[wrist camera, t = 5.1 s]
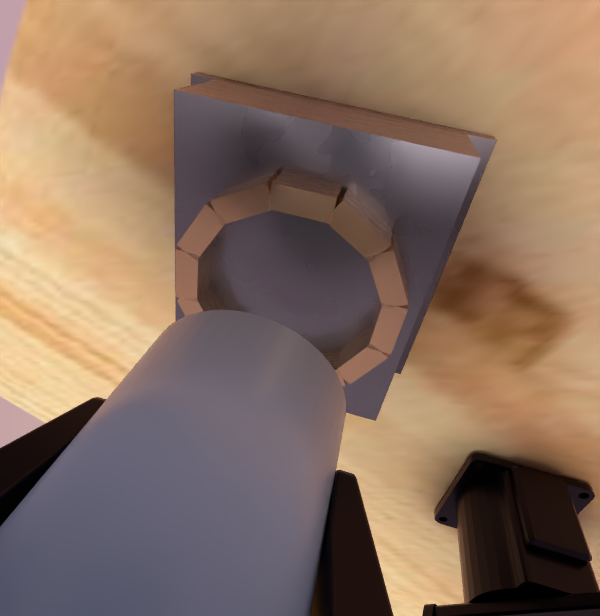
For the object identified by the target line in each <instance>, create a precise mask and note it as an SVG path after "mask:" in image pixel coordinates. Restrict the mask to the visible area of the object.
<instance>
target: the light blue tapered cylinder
mask: <svg viewBox="0 0 600 616" xmlns="http://www.w3.org/2000/svg"><path fill="white" fill-rule="evenodd" d="M345 415H346V401H345V394H344V391H343V387H342V384H341V382H340V380H339V378H338V376H337V374H336V372H335V370H334V369H333V367H332V366H331V364H330V363H329V361H328V360H327V359H326V358H325V357H324V356H323V354H322V353H321V352H320V351H319V350H318V349H317V348H316V347H314V346H313V345H312V344H311V343H310V342H309V341H308V340H306V339H305V338H303V337H302V336H301V335H299V334H298V333H296V332H295V331H293V330H291V329H289V328H288V327H286V326H284V325H282V324H280V323H278V322H275V321H273V320H271V319H268V318H265V317H262V316H259V315H256V314H251V313H247V312H242V311H234V310H209V311H202V312H198V313H194V314H191V315H188V316H186V317H183V318H181V319H179V320H177V321H176V322H174V323H173V324H171V325H170V326H169V327H168V328H167V329H166V330H165V331H164V332H163V333H162V334H161V335H160V336H159V337H158V339H157V340H156V341H155V342H154V343H153V345H152V346H151V347H150V348H149V349H148V351H147V352H146V353H145V354H144V355H143V357H142V358H141V359H140V360H139V361H138V363H137V364H136V365H135V366H134V367H133V369H132V370H131V371H130V372H129V373H128V375H127V376H126V377H125V378H124V379H123V381H122V382H121V383H120V384H119V385H118V386H117V388H116V389H115V390H114V391H113V392H112V394H111V395H110V396H109V397H108V398H107V400H106V401H105V402H104V403H103V404H102V406H101V407H100V408H99V409H98V410H97V412H96V413H95V414H94V415H93V416H92V418H91V419H90V420H89V421H88V422H87V424H86V425H85V426H84V427H83V428H82V430H81V431H80V432H79V433H78V434H77V436H76V437H75V438H74V439H73V440H72V442H71V443H70V444H69V445H68V446H67V447H66V449H65V450H64V451H63V452H62V453H61V455H60V456H59V457H58V458H57V459H56V461H55V462H54V463H53V464H52V465H51V467H50V468H49V469H48V470H47V471H46V473H45V474H44V475H43V476H42V477H41V479H40V480H39V481H38V482H37V483H36V485H35V486H34V487H33V488H32V489H31V491H30V492H29V493H28V494H27V495H26V497H25V498H24V499H23V500H22V501H21V503H20V504H19V505H18V506H17V507H16V509H15V510H14V511H13V512H12V513H11V514H10V516H9V517H8V518H7V519H6V520H5V522H4V523H3V524H2V525H1V526H0V616H310V615H311V609H312V604H313V598H314V592H315V586H316V581H317V575H318V569H319V564H320V558H321V552H322V546H323V541H324V535H325V529H326V524H327V518H328V512H329V506H330V501H331V495H332V489H333V484H334V478H335V472H336V466H337V461H338V455H339V449H340V444H341V438H342V432H343V426H344V421H345Z"/></svg>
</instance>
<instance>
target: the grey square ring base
mask: <svg viewBox="0 0 600 616" xmlns="http://www.w3.org/2000/svg"><path fill="white" fill-rule="evenodd" d="M496 141H497V140H496V139H495V138H494V137H492V136H487V135H482V134H478V133H473V132H469V131H464V130H459V129H455V128H450V127H446V126H441V125H436V124H432V123H427V122H423V121H418V120H413V119H409V118H404V117H400V116H395V115H391V114H386V113H381V112H377V111H372V110H368V109H363V108H358V107H354V106H349V105H345V104H340V103H335V102H331V101H326V100H322V99H317V98H312V97H308V96H303V95H299V94H294V93H289V92H285V91H280V90H276V89H271V88H266V87H262V86H257V85H253V84H248V83H243V82H239V81H234V80H230V79H225V78H221V77H216V76H211V75H207V74H202V73H193V74H191V86H188V87H184V88H180V89H176V90H174V165H175V291H176V321H177V320H179V319H181V318H183V317H186V316H188V315H191V314H194V313H198V312H202V311H209V310H234V311H242V312H247V313H251V314H256V315H259V316H262V317H265V318H268V319H271V320H273V321H275V322H278V323H280V324H282V325H284V326H286V327H288V328H289V329H291V330H293V331H295V332H296V333H298V334H299V335H301V336H302V337H303V338H305V339H306V340H308V341H309V342H310V343H311V344H312V345H313V346H314V347H316V348H317V349H318V350H319V351H320V352H321V353H322V354H323V356H324V357H325V358H326V359H327V360H328V361H329V363H330V364H331V366H332V367H333V369H334V370H335V372H336V374H337V376H338V378H339V380H340V382H341V384H342V387H343V391H344V394H345V401H346V412H347V413H350V414H354V415H357V416H361V417H364V418H368V419H371V420H375V421H376V418H377V416H378V413H379V411H380V408H381V406H382V403H383V401H384V398H385V396H386V393H387V391H388V388H389V386H390V383H391V381H392V378H393V376H394V373H399V374H401V371H402V369H403V367H404V364H405V362H406V359H407V357H408V354H409V352H410V350H411V347H412V345H413V342H414V340H415V337H416V335H417V333H418V330H419V328H420V325H421V323H422V321H423V318H424V316H425V313H426V311H427V308H428V306H429V304H430V301H431V299H432V296H433V294H434V291H435V289H436V287H437V284H438V282H439V279H440V277H441V274H442V272H443V270H444V267H445V265H446V262H447V260H448V257H449V255H450V253H451V250H452V248H453V245H454V243H455V241H456V238H457V236H458V233H459V231H460V228H461V226H462V224H463V221H464V219H465V216H466V214H467V211H468V209H469V207H470V204H471V202H472V199H473V197H474V194H475V192H476V190H477V187H478V185H479V182H480V180H481V177H482V175H483V173H484V170H485V168H486V165H487V163H488V161H489V158H490V156H491V153H492V151H493V148H494V146H495V144H496Z"/></svg>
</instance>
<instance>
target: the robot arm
mask: <svg viewBox="0 0 600 616" xmlns="http://www.w3.org/2000/svg"><path fill="white" fill-rule="evenodd" d="M105 401H106V399H103V398H100V397H95V398H92V399H90V400H88V401H86V402H84V403H83V404H81V405H79V406H77V407H75V408H73V409H71V410H70V411H68V412H66V413H64V414H62V415H60V416H59V417H57V418H55V419H53V420H51V421H49V422H48V423H46V424H44V425H42V426H40V427H38V428H36V429H35V430H33V431H31V432H29V433H27V434H25V435H24V436H22V437H20V438H18V439H16V440H14V441H13V442H11V443H9V444H7V445H5V446H3V447H1V448H0V526H1V525H2V524H3V523H4V522H5V520H6V519H7V518H8V517H9V516H10V514H11V513H12V512H13V511H14V510H15V509H16V507H17V506H18V505H19V504H20V503H21V501H22V500H23V499H24V498H25V497H26V495H27V494H28V493H29V492H30V491H31V489H32V488H33V487H34V486H35V485H36V483H37V482H38V481H39V480H40V479H41V477H42V476H43V475H44V474H45V473H46V471H47V470H48V469H49V468H50V467H51V465H52V464H53V463H54V462H55V461H56V459H57V458H58V457H59V456H60V455H61V453H62V452H63V451H64V450H65V449H66V447H67V446H68V445H69V444H70V443H71V442H72V440H73V439H74V438H75V437H76V436H77V434H78V433H79V432H80V431H81V430H82V428H83V427H84V426H85V425H86V424H87V422H88V421H89V420H90V419H91V418H92V416H93V415H94V414H95V413H96V412H97V410H98V409H99V408H100V407H101V406H102V404H103V403H104V402H105ZM594 497H595V495H594V492H593V489H592V487H591V486H590V485H588V484H585V483H582V482H578V481H575V480H571V479H568V478H564V477H561V476H557V475H554V474H550V473H547V472H543V471H539V470H536V469H532V468H529V467H525V466H522V465H518V464H515V463H511V462H508V461H504V460H501V459H497V458H494V457H490V456H487V455H483V454H473V455H471V456H470V457H469V458H468V460H467V461H466V463H465V465H464V466H463V468H462V469H461V471H460V472H459V474H458V475H457V477H456V479H455V480H454V482H453V483H452V485H451V486H450V488H449V490H448V491H447V493H446V494H445V496H444V497H443V499H442V500H441V502H440V504H439V505H438V507H437V508H436V510H435V512H434V515H435V520H436V521H437V522H438V523H440V524H444V525H447V526H450V527H454V528H457V530H458V540H459V551H460V562H461V572H462V583H463V594H464V603H463V604H452V605H440V606H437V605H436V604H427V605H424V610H423V616H600V590H599V587H598V584H597V581H596V578H595V575H594V572H593V569H592V566H591V563H590V561H591V560H592V556H591V553H590V550H589V547H588V544H587V542H586V539H585V536H584V533H583V530H582V527H581V524H580V521H579V518H578V515H577V514H579V513H580V512H581V511H582V510H583V509H584V508H585V507H586V506H587V505H588V504H589V503H590V502H591V501H592V500H593V499H594ZM310 616H393V612H392V609H391V605H390V601H389V597H388V594H387V590H386V586H385V582H384V579H383V575H382V571H381V568H380V564H379V560H378V556H377V553H376V549H375V545H374V541H373V538H372V534H371V530H370V527H369V523H368V519H367V515H366V512H365V508H364V504H363V500H362V497H361V493H360V489H359V486H358V482H357V479H356V476H355V475H354V474H352V473H348V472H345V471H342V470H337V471H336V472H335V478H334V484H333V489H332V495H331V501H330V506H329V512H328V518H327V524H326V529H325V535H324V541H323V546H322V552H321V558H320V564H319V569H318V575H317V581H316V586H315V592H314V598H313V604H312V609H311V615H310Z"/></svg>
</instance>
